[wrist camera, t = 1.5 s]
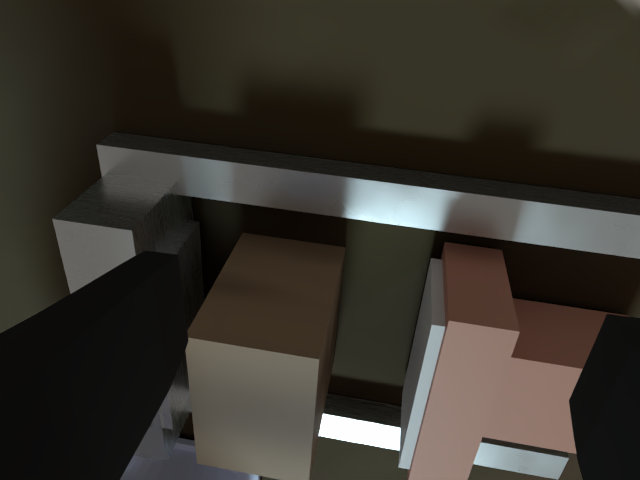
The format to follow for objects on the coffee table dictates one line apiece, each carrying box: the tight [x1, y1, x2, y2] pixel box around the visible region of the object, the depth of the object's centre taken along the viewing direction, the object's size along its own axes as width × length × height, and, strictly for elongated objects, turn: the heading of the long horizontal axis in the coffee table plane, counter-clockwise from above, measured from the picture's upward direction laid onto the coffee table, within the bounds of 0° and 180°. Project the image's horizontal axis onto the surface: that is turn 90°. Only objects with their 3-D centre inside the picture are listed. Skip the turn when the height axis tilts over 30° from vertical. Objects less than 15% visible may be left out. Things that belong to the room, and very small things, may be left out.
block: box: [185, 233, 346, 480], centre depth 19 cm, size 6×4×6 cm, turn 176°
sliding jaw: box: [399, 242, 630, 480], centre depth 19 cm, size 8×7×4 cm
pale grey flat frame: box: [52, 132, 640, 479], centre depth 20 cm, size 13×19×4 cm
